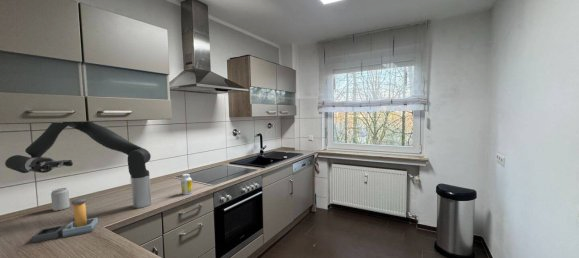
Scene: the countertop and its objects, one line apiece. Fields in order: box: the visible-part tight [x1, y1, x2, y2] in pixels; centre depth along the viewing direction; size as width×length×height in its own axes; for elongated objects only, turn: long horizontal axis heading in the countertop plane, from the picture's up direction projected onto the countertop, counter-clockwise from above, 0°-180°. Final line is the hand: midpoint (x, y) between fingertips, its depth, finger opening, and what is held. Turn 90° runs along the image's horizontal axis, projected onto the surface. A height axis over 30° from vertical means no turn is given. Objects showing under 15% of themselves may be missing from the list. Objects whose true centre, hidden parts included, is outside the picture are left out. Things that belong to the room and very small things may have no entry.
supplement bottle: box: [180, 173, 193, 196], centre depth 160 cm, size 7×7×13 cm
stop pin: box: [70, 198, 88, 228], centre depth 110 cm, size 5×5×13 cm
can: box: [50, 187, 71, 212], centre depth 140 cm, size 8×8×12 cm
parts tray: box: [62, 217, 99, 238], centre depth 110 cm, size 10×10×3 cm
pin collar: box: [31, 224, 66, 243], centre depth 105 cm, size 8×8×2 cm
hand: (60, 165), depth 112 cm, fingers open, 8 cm apart
